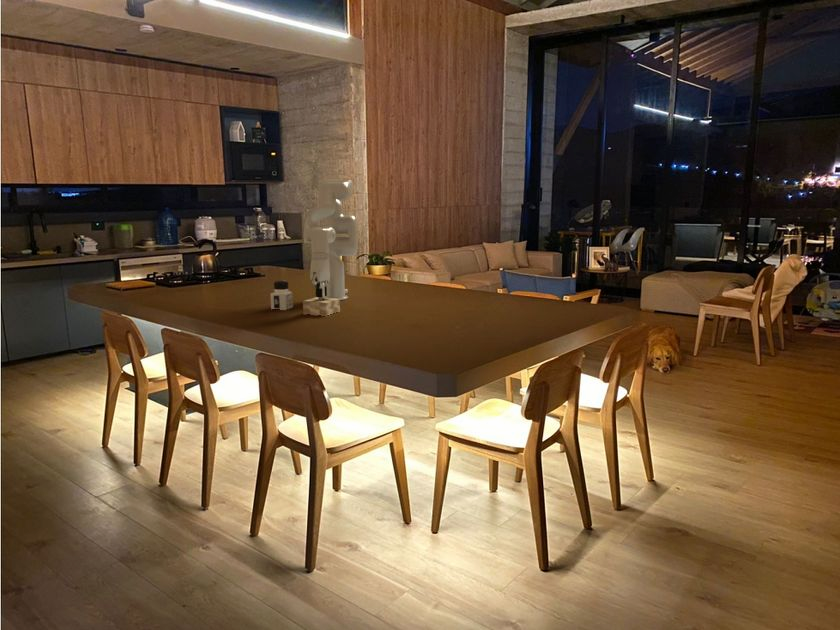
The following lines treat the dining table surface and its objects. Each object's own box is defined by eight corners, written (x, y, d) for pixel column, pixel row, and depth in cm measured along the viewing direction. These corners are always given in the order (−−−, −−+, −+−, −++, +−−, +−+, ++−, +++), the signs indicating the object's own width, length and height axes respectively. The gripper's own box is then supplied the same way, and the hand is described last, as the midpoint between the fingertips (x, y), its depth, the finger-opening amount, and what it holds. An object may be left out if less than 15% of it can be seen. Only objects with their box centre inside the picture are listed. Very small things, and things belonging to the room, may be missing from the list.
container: (286, 310, 294) (285, 282, 292) (270, 309, 296) (269, 282, 293) (293, 307, 302) (292, 280, 299) (277, 306, 303) (276, 279, 301)
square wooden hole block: (317, 309, 296) (317, 297, 295) (340, 311, 291) (339, 298, 290) (303, 314, 285) (302, 301, 284) (326, 316, 280) (326, 302, 279)
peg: (320, 304, 289) (319, 278, 287) (326, 305, 288) (325, 278, 286) (317, 305, 287) (316, 279, 284) (322, 306, 286) (322, 279, 283)
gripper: (322, 254, 292) (323, 293, 296) (302, 257, 277) (304, 298, 281) (336, 254, 289) (337, 294, 293) (317, 258, 274) (318, 300, 278)
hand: (321, 296), depth 287 cm, fingers closed on peg, 3 cm apart
